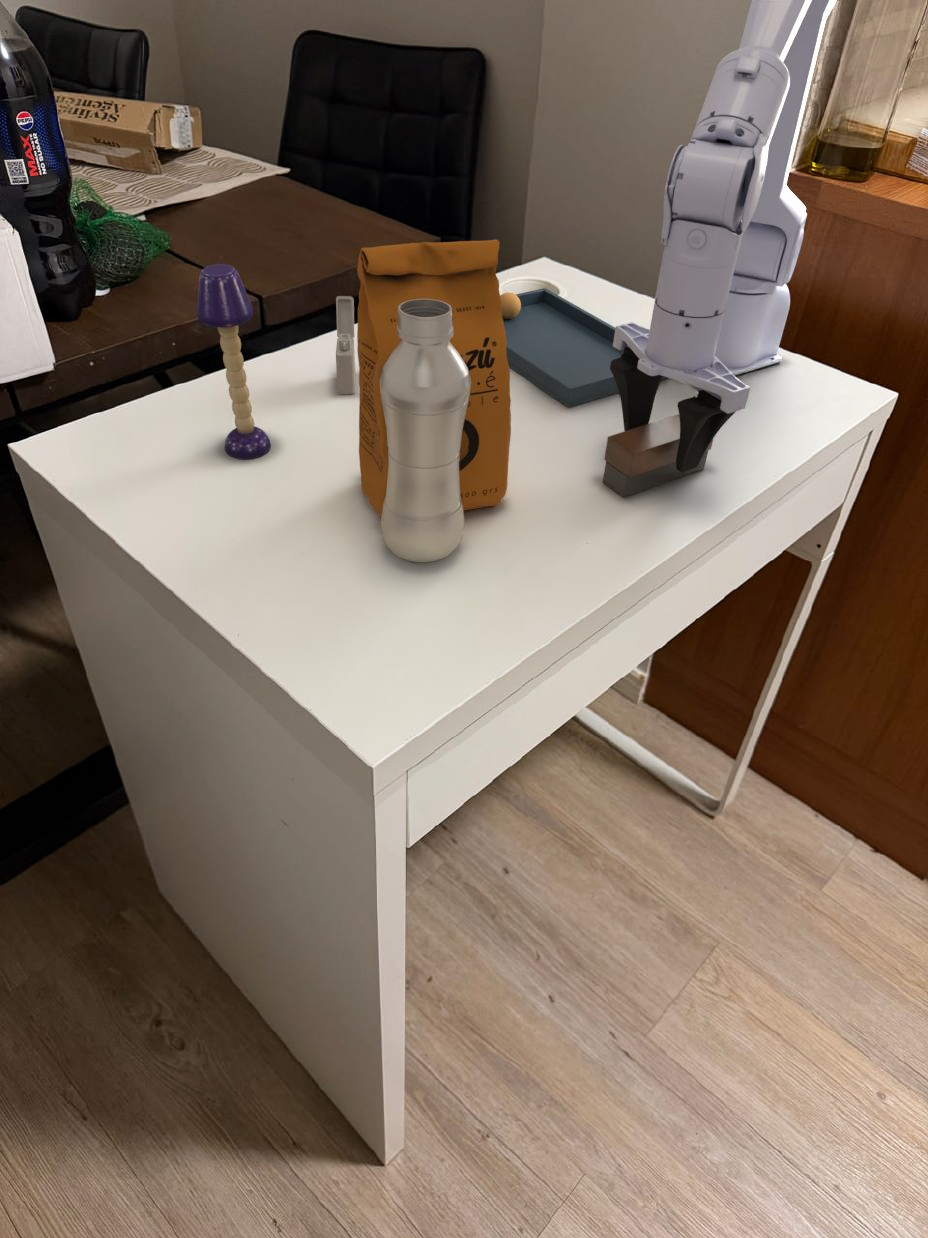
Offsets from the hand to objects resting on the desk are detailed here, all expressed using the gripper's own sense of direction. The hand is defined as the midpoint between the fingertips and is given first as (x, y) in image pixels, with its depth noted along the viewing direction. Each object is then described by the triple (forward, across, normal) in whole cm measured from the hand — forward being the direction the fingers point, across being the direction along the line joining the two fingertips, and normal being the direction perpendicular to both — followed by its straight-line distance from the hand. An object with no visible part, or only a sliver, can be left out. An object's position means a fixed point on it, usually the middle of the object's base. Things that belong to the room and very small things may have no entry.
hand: (660, 450), depth 84 cm
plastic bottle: (+3, -1, -25) cm, 25 cm away
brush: (+3, 0, 0) cm, 3 cm away
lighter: (+3, -31, -16) cm, 35 cm away
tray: (+3, -26, +8) cm, 27 cm away
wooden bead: (0, -35, +8) cm, 36 cm away
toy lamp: (+3, -23, -31) cm, 39 cm away
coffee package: (+3, -7, -20) cm, 21 cm away
